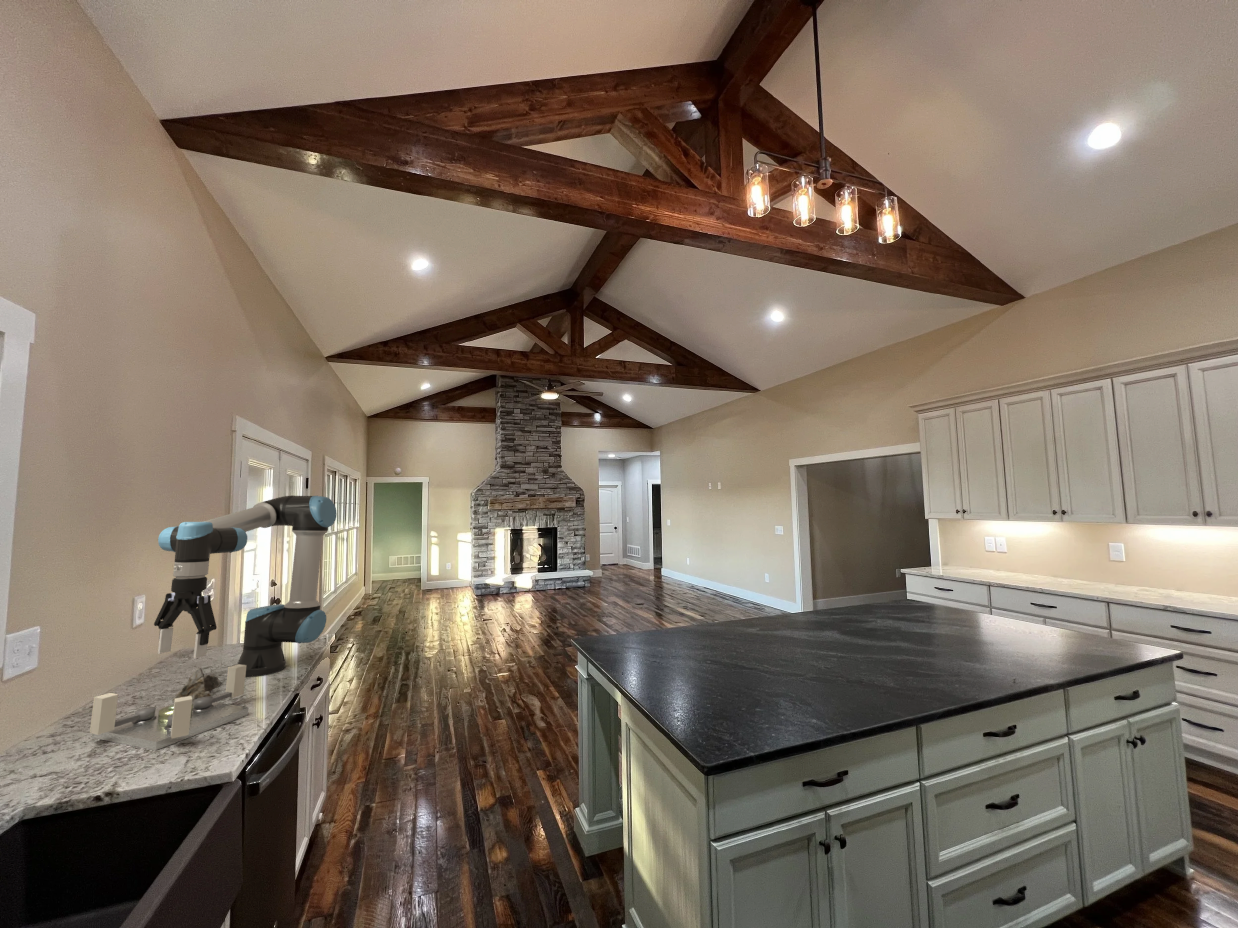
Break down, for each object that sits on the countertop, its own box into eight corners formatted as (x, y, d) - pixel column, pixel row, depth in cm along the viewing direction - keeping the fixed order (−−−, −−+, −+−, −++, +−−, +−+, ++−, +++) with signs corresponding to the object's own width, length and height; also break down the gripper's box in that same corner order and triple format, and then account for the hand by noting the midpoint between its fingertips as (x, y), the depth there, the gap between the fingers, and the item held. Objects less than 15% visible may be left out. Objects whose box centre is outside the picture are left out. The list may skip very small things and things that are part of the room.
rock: (206, 699, 152) (197, 668, 153) (166, 715, 149) (156, 684, 149) (233, 684, 169) (224, 656, 170) (197, 698, 166) (188, 670, 167)
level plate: (189, 705, 149) (191, 685, 150) (247, 714, 143) (249, 694, 144) (91, 737, 127) (94, 714, 128) (155, 750, 121) (158, 726, 122)
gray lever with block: (200, 709, 140) (203, 677, 140) (190, 707, 141) (193, 676, 142) (244, 694, 152) (247, 665, 153) (234, 692, 153) (237, 664, 154)
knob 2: (166, 723, 130) (170, 689, 131) (186, 718, 133) (190, 685, 134) (169, 739, 121) (173, 702, 122) (190, 734, 124) (194, 698, 125)
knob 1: (148, 713, 136) (152, 681, 137) (158, 715, 135) (162, 682, 136) (88, 732, 124) (93, 696, 125) (99, 734, 123) (103, 698, 124)
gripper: (143, 575, 139) (133, 653, 137) (209, 580, 132) (200, 662, 130) (173, 573, 146) (165, 647, 144) (237, 577, 139) (229, 655, 137)
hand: (181, 654), depth 137 cm, fingers open, 13 cm apart
